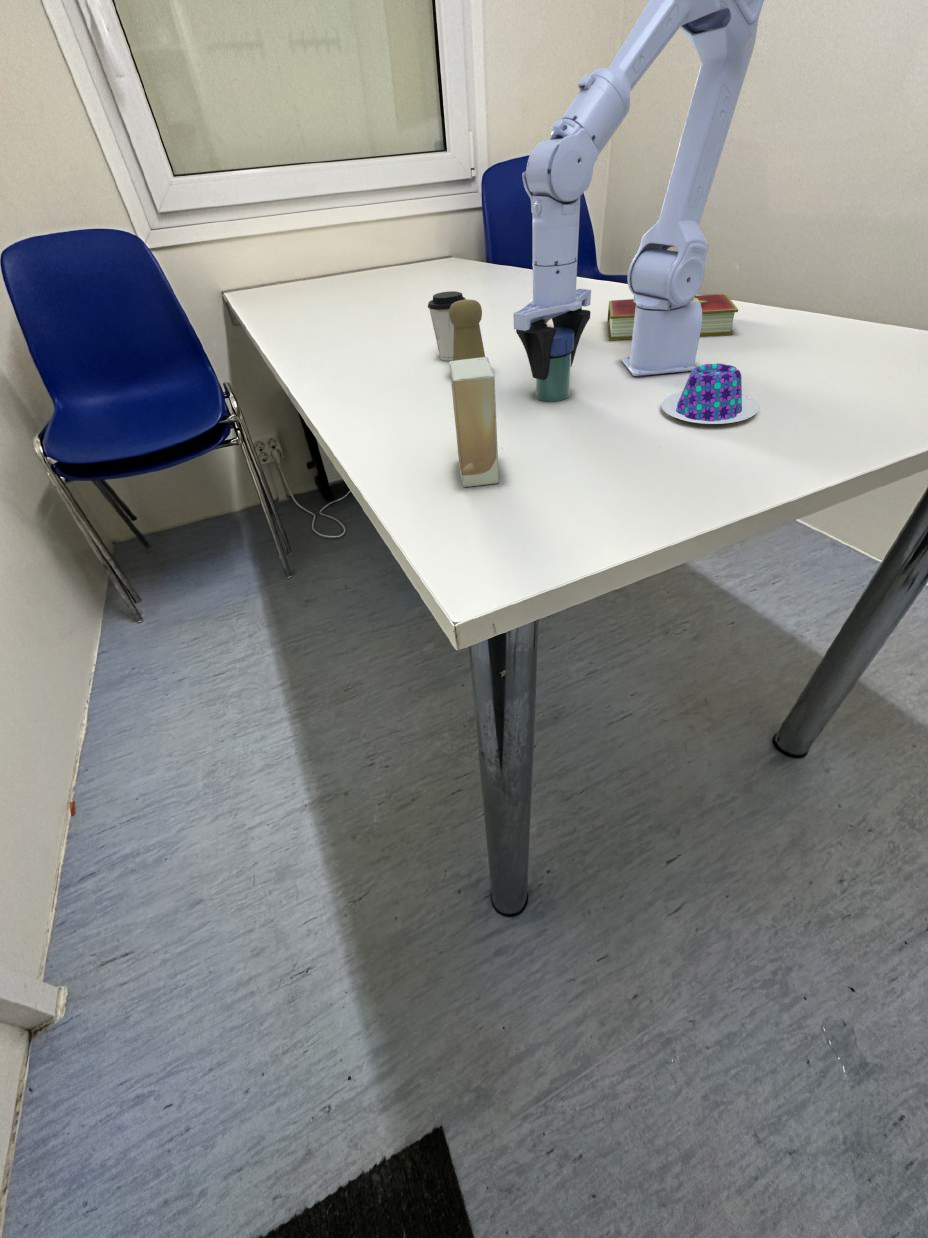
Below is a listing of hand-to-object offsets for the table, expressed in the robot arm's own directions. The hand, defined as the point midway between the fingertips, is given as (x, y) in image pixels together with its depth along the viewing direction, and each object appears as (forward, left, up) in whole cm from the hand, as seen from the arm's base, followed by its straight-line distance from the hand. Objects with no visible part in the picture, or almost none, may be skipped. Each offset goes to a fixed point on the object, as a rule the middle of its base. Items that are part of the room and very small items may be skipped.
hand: (552, 372), depth 79 cm
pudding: (-19, +11, -4) cm, 22 cm away
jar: (0, 0, -3) cm, 3 cm away
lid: (0, 0, +5) cm, 5 cm away
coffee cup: (+15, -24, -4) cm, 29 cm away
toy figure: (-3, -35, -4) cm, 35 cm away
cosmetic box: (+12, +23, -4) cm, 26 cm away
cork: (+12, -13, -4) cm, 18 cm away
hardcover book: (-25, -28, -4) cm, 38 cm away
